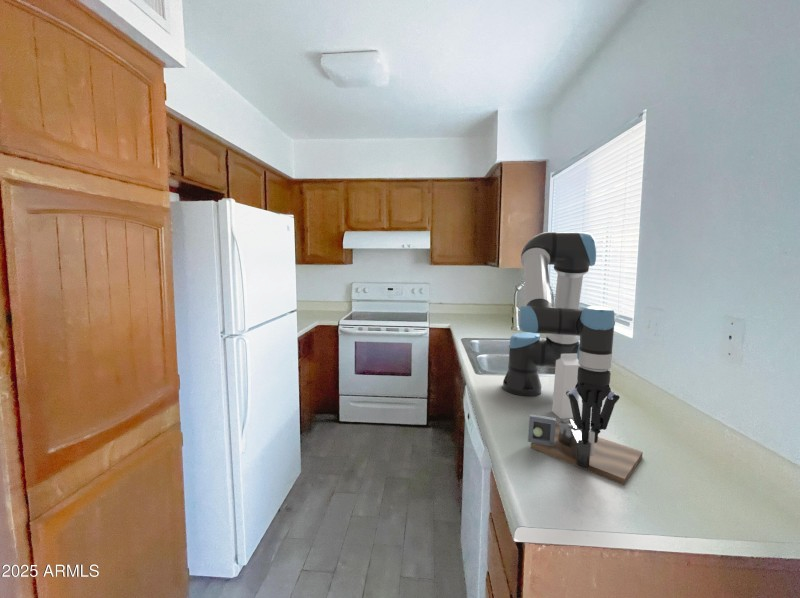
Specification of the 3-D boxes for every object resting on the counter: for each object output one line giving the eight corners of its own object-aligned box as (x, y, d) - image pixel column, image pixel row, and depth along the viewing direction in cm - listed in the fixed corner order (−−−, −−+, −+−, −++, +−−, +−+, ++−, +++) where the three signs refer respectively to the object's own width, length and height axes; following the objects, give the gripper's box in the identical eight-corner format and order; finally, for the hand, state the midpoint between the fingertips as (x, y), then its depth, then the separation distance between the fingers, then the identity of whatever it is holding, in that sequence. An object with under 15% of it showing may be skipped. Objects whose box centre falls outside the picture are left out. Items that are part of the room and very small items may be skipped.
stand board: (556, 427, 122) (556, 422, 122) (642, 457, 105) (642, 450, 105) (530, 447, 109) (531, 441, 109) (624, 484, 92) (624, 477, 92)
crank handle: (556, 433, 114) (557, 415, 113) (581, 436, 112) (582, 417, 112) (569, 466, 97) (571, 444, 96) (599, 469, 95) (601, 447, 95)
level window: (528, 439, 111) (529, 413, 110) (553, 444, 108) (555, 418, 107) (527, 443, 108) (529, 417, 107) (553, 448, 106) (555, 422, 105)
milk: (552, 411, 134) (555, 351, 132) (568, 411, 135) (572, 351, 132) (560, 419, 128) (565, 356, 126) (577, 418, 129) (582, 355, 126)
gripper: (612, 363, 100) (606, 446, 103) (563, 362, 101) (558, 445, 104) (627, 372, 93) (620, 461, 96) (574, 371, 94) (569, 460, 97)
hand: (588, 453), depth 100 cm, fingers closed
